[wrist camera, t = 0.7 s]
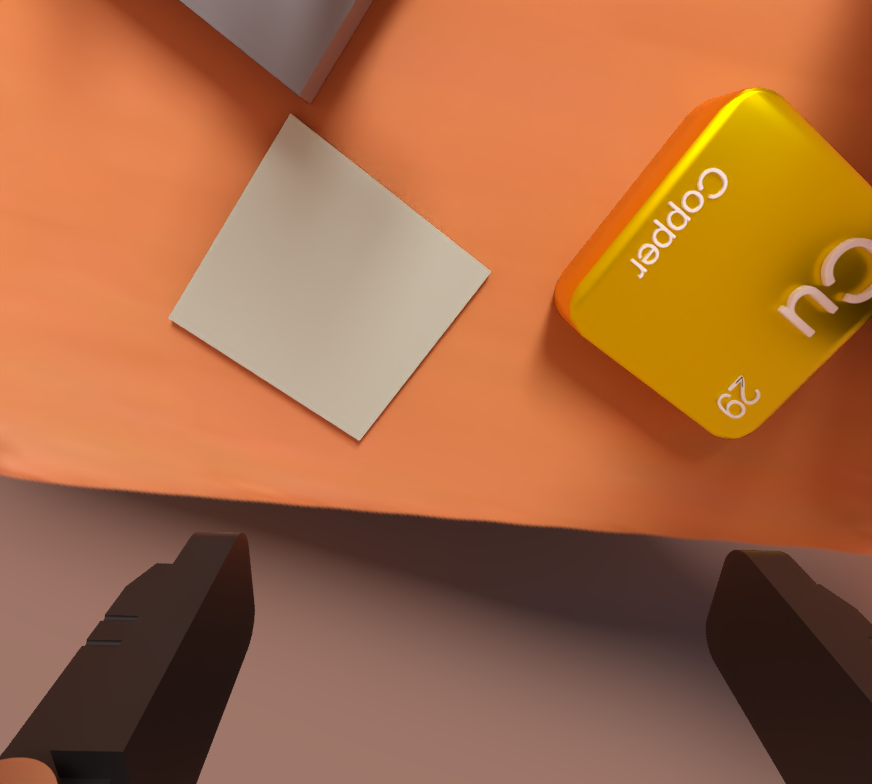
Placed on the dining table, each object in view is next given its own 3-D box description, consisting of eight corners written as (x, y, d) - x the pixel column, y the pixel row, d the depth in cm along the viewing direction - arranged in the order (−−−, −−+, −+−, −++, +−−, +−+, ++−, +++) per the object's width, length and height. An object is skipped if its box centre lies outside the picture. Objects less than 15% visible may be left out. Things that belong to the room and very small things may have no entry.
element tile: (711, 81, 30) (762, 63, 25) (878, 244, 33) (949, 254, 29) (538, 300, 34) (556, 317, 29) (702, 424, 37) (741, 457, 33)
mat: (292, 114, 29) (290, 113, 29) (490, 270, 33) (491, 272, 32) (172, 315, 33) (168, 318, 33) (360, 437, 36) (359, 441, 36)
